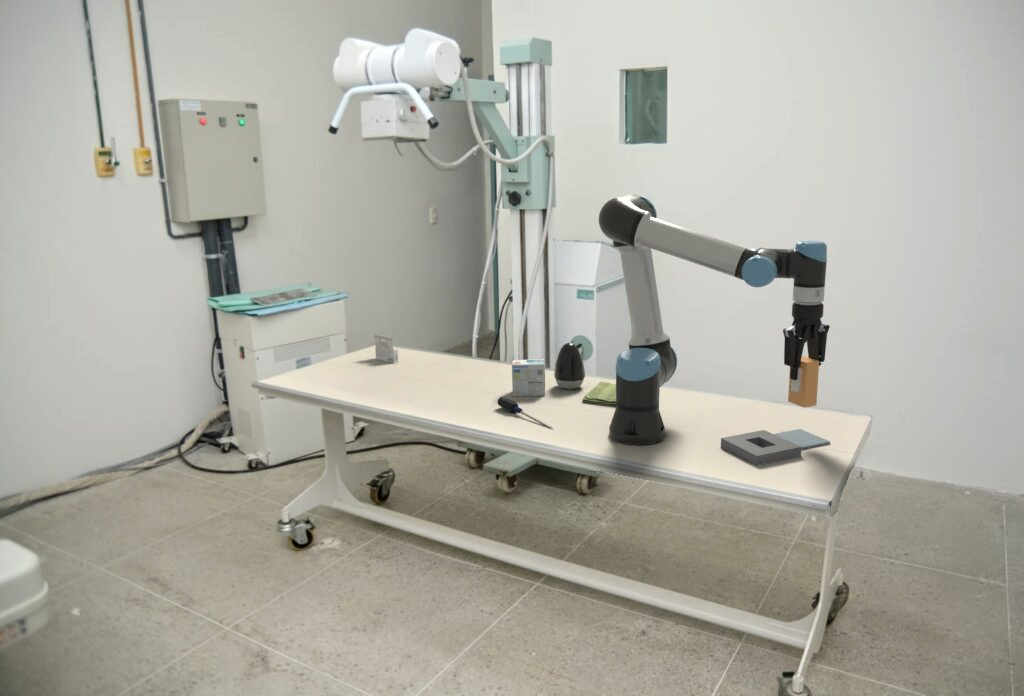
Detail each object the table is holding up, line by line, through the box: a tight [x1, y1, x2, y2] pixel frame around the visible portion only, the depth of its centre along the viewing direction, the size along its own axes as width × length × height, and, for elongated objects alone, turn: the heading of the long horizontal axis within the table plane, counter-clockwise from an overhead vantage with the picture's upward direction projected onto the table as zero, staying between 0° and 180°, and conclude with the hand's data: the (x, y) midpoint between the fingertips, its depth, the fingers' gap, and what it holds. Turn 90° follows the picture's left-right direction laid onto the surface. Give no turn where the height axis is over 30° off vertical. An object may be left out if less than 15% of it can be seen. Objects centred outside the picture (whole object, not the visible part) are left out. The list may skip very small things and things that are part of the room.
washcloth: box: [582, 381, 616, 406], centre depth 251 cm, size 13×18×3 cm
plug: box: [787, 355, 820, 409], centre depth 206 cm, size 4×6×12 cm, turn 23°
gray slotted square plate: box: [720, 429, 802, 466], centre depth 203 cm, size 14×14×2 cm
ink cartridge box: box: [373, 334, 399, 364], centre depth 302 cm, size 2×11×10 cm, turn 48°
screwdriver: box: [497, 396, 553, 429], centre depth 233 cm, size 26×4×4 cm, turn 36°
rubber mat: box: [773, 428, 831, 450], centre depth 210 cm, size 11×11×1 cm
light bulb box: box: [511, 358, 546, 397], centre depth 256 cm, size 11×7×11 cm, turn 88°
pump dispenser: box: [553, 342, 586, 390], centre depth 261 cm, size 10×10×15 cm
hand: (802, 389), depth 207 cm, fingers closed on plug, 4 cm apart
